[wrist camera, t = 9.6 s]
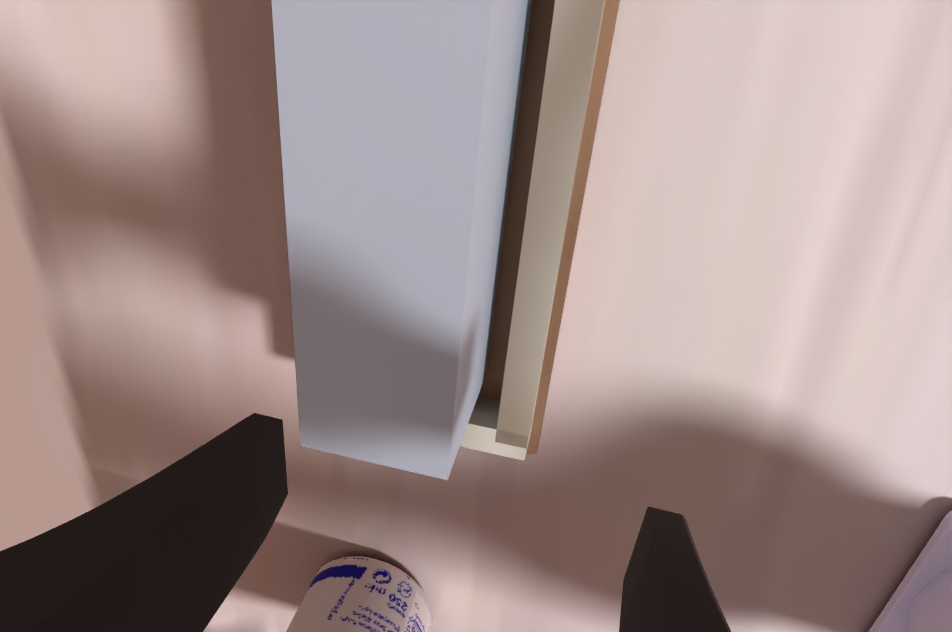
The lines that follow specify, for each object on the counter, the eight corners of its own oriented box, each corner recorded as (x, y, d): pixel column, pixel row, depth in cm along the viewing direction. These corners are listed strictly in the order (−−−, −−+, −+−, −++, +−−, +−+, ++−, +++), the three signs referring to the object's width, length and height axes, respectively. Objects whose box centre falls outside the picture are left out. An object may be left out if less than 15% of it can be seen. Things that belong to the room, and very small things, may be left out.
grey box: (540, -63, 14) (498, -68, 10) (487, 370, 21) (447, 480, 16) (371, -80, 15) (265, -92, 11) (368, 346, 21) (300, 446, 17)
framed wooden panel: (659, -216, 13) (662, -248, 11) (539, 435, 23) (529, 485, 21) (303, -240, 15) (245, -272, 12) (327, 390, 24) (296, 433, 22)
